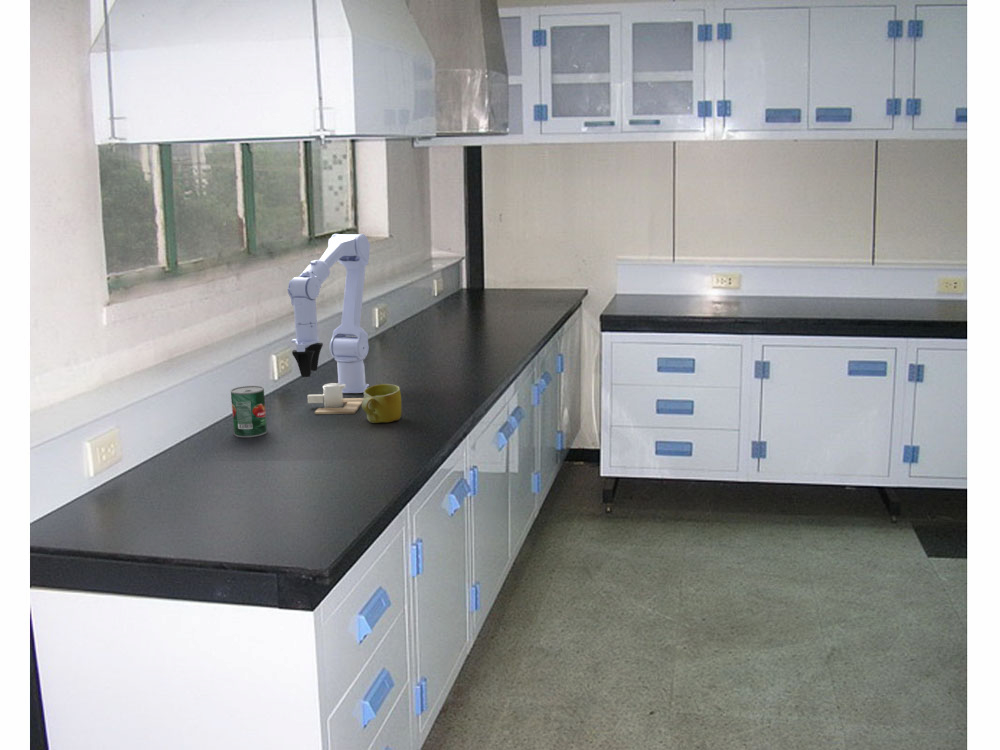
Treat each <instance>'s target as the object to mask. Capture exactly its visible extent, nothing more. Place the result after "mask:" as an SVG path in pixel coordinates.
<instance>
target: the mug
mask: <svg viewBox="0 0 1000 750" xmlns="http://www.w3.org/2000/svg"><path fill="white" fill-rule="evenodd" d="M363 398H364V399H363V403H362V405H361V408H362V410H363V412H364V413H365V414H366V419H367V421H368V422H369V423H371V424H379V423H393V422H396V421H399V420H400V419H401V417H402V395H401V389H400V386H399V385H396V384H391V383H382V384H381V383H380V384H374V385H372V386H368V387H367V388H366V389H365V390H364V392H363Z"/></svg>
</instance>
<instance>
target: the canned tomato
mask: <svg viewBox="0 0 1000 750" xmlns="http://www.w3.org/2000/svg"><path fill="white" fill-rule="evenodd" d="M230 398H231V399H230V400H231V410H232V411H231V412H232V423H233V434H234V436H235V437H237V438H255V437H260V436H263V435H266V434H267V433H268V426H267V414H266V402H265V400H266V399H265V388H264V387H263V386H260V385H244V386H237V387H235V388H232V389H230Z"/></svg>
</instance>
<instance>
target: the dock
mask: <svg viewBox="0 0 1000 750" xmlns="http://www.w3.org/2000/svg"><path fill="white" fill-rule="evenodd" d="M363 399H364V397H358V398H357V397H350V398H347V397H345V398H344V397H343V408H324V407H318V408H317V409H316V410H315V411H314V415H339V414H341V415H345V414H346V415H348V414H350V415H351V414H352V415H353V414H355V413H356V412H357V411H358V410H359V409H360V408H361V407H362V403H363Z"/></svg>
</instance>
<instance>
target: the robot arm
mask: <svg viewBox="0 0 1000 750" xmlns="http://www.w3.org/2000/svg"><path fill="white" fill-rule="evenodd" d="M327 245H328V247H327V248H326V250H325V251H324V253H323V254H322V255H321V257H320V258H319V259H315V260H311V261H310V262H309V263H310V264H308V265H307V267H306V268H305V269H304V270H303V271H302V272H301V274H300V275H299V276H294V277H293V278H292V279H291V280H290V281H289V283H288V287H287V293H288V297H289V298H290V302H291V303H290V304H291V305H292V306H293V316H294V329H295V338H293V339H291V343H293V344H296V349H293V350H292V351H291V355H292V356H293V358H294V359H295V361H296V363H297V366H298V369H299V373H300V376H301V378H310V377H311V375H312V372H313V371H314V372H315V371H316V372H317V370H318V366H319V357H320V354H321V350H322V349H323V346H324V344H323V342H320V339H319V333H318V332H319V331H318V330H319V329H318V319H317V316H318V315H317V304H316V303H317V302H316V299H317V298H318V297H319V295H320V290H321V288H322V284H323V283H324V282H325V281H326V280H327V278H328V277H330V273H331V270H330V269H331V268H332V267H333V266H334V265H335V264H336V263H337V262H338V263H339V264H340V265H342V266H344V268H345V269H346V273H345V275H346V276H345V281H344V283H345V284H344V294H343V302H342V303H343V304H342V312H341V313H342V314H341V322H340V323H341V324H340V325H339V326H338V327H336V328H335V329H334V330H333V331H332V336H331V340H330V341H329V352H330V354H331V356H332V357H333V358H334V361H336V363H337V364H336V366H337V381H338V382H337V383H339V384H346V387H345V388H344V389H342V394H362V393H363V394H364V390H365V389H367V388H368V387H370V384H369V383H366V373H365V372H366V370H365V362H364V360H365V359H366V357H367V355H368V354H369V349H370V347H369V334H368V332H367V331H366V330H365V329H363V327H362V326H361V319H362V318H361V317H362V307H363V297H364V287H365V276H366V267H367V266H368V265H369V262H370V261H369V259H370V249H371V244H370V241H369V239H368V237H367V235H366V234H364V233H360V234H357V233H356V234H349V233H348V234H347V233H345V234H344V233H343V234H340V233H334V234H332V235H331V237H330V238H328V244H327Z"/></svg>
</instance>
